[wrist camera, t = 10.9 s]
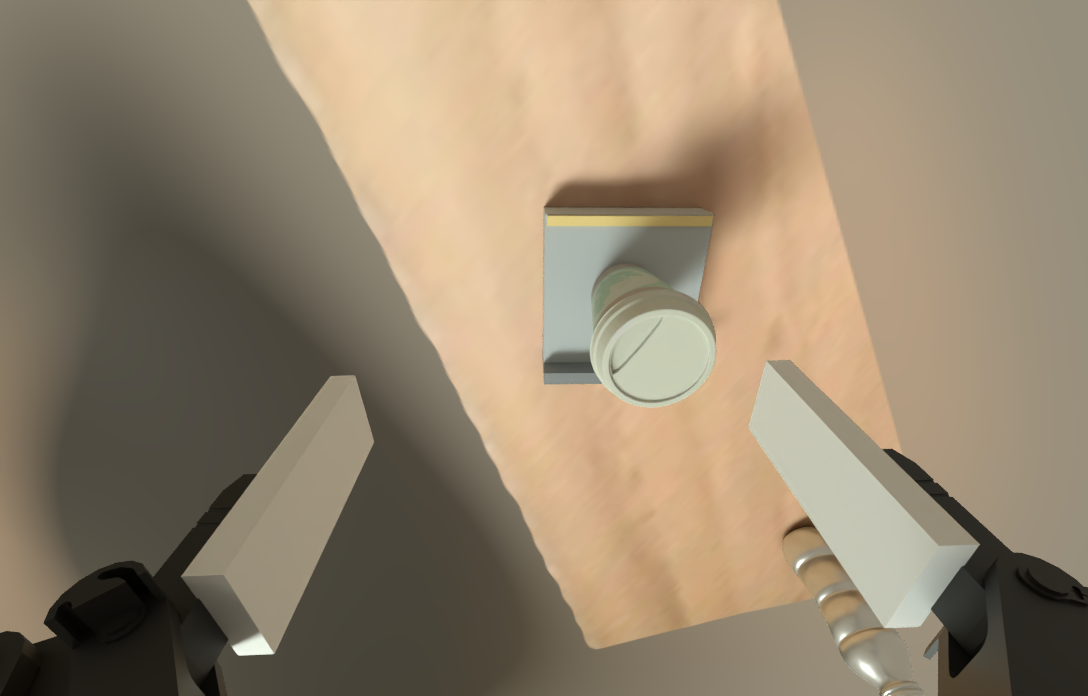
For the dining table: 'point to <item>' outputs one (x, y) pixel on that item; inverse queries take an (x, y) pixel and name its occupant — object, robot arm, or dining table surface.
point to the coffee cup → (648, 338)
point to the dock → (592, 247)
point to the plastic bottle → (850, 616)
